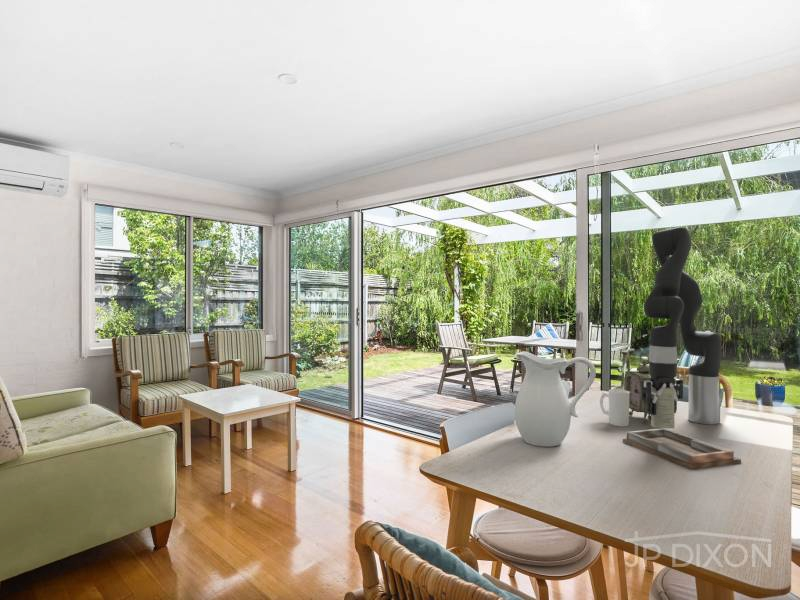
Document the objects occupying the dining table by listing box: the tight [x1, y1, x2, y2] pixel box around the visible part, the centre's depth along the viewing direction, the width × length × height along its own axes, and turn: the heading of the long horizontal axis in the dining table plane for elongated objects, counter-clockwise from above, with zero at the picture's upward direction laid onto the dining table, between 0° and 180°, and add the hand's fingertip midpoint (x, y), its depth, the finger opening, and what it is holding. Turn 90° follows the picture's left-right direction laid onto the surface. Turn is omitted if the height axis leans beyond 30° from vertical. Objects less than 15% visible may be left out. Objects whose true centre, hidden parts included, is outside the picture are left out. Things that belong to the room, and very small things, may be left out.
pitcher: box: [514, 351, 597, 448], centre depth 142 cm, size 24×17×28 cm
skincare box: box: [650, 387, 676, 429], centre depth 140 cm, size 6×4×12 cm
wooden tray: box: [622, 427, 742, 470], centre depth 135 cm, size 18×24×3 cm
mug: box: [599, 388, 630, 427], centre depth 165 cm, size 10×7×12 cm, turn 46°
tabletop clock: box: [623, 352, 651, 424], centre depth 170 cm, size 14×9×25 cm, turn 178°
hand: (662, 413), depth 140 cm, fingers closed on skincare box, 7 cm apart
